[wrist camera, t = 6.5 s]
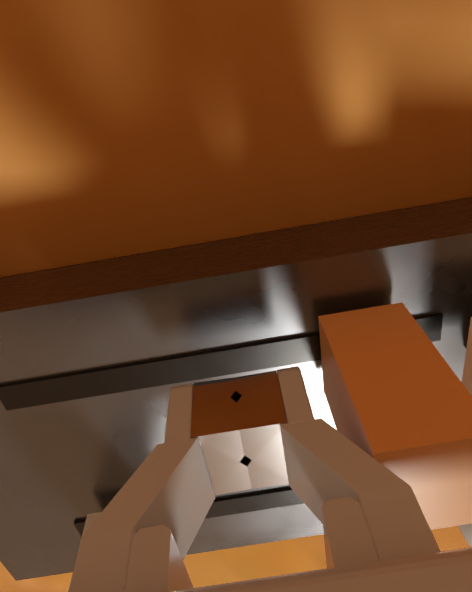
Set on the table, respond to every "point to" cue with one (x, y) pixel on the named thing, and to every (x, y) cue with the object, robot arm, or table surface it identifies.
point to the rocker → (468, 363)
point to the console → (194, 360)
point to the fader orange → (401, 405)
